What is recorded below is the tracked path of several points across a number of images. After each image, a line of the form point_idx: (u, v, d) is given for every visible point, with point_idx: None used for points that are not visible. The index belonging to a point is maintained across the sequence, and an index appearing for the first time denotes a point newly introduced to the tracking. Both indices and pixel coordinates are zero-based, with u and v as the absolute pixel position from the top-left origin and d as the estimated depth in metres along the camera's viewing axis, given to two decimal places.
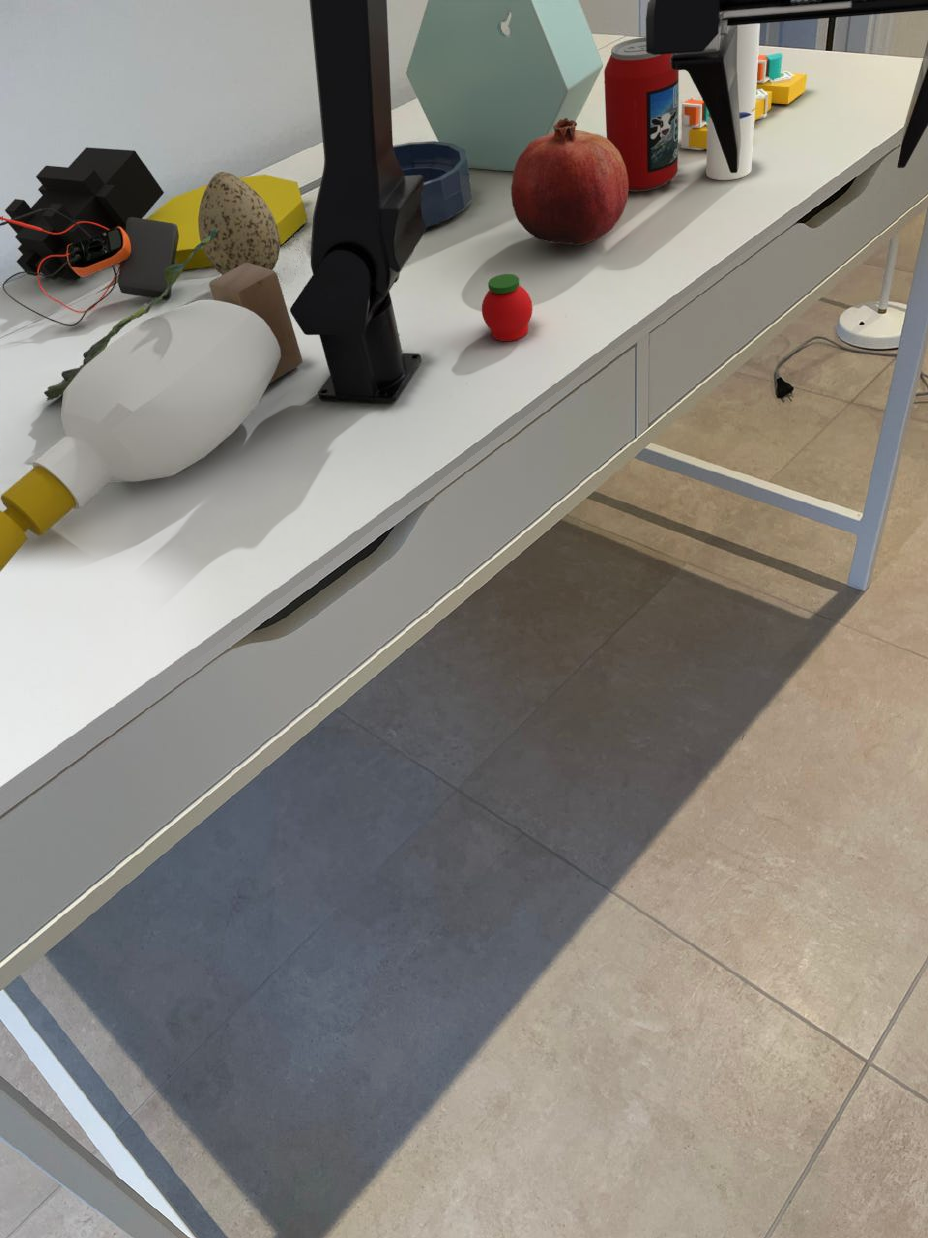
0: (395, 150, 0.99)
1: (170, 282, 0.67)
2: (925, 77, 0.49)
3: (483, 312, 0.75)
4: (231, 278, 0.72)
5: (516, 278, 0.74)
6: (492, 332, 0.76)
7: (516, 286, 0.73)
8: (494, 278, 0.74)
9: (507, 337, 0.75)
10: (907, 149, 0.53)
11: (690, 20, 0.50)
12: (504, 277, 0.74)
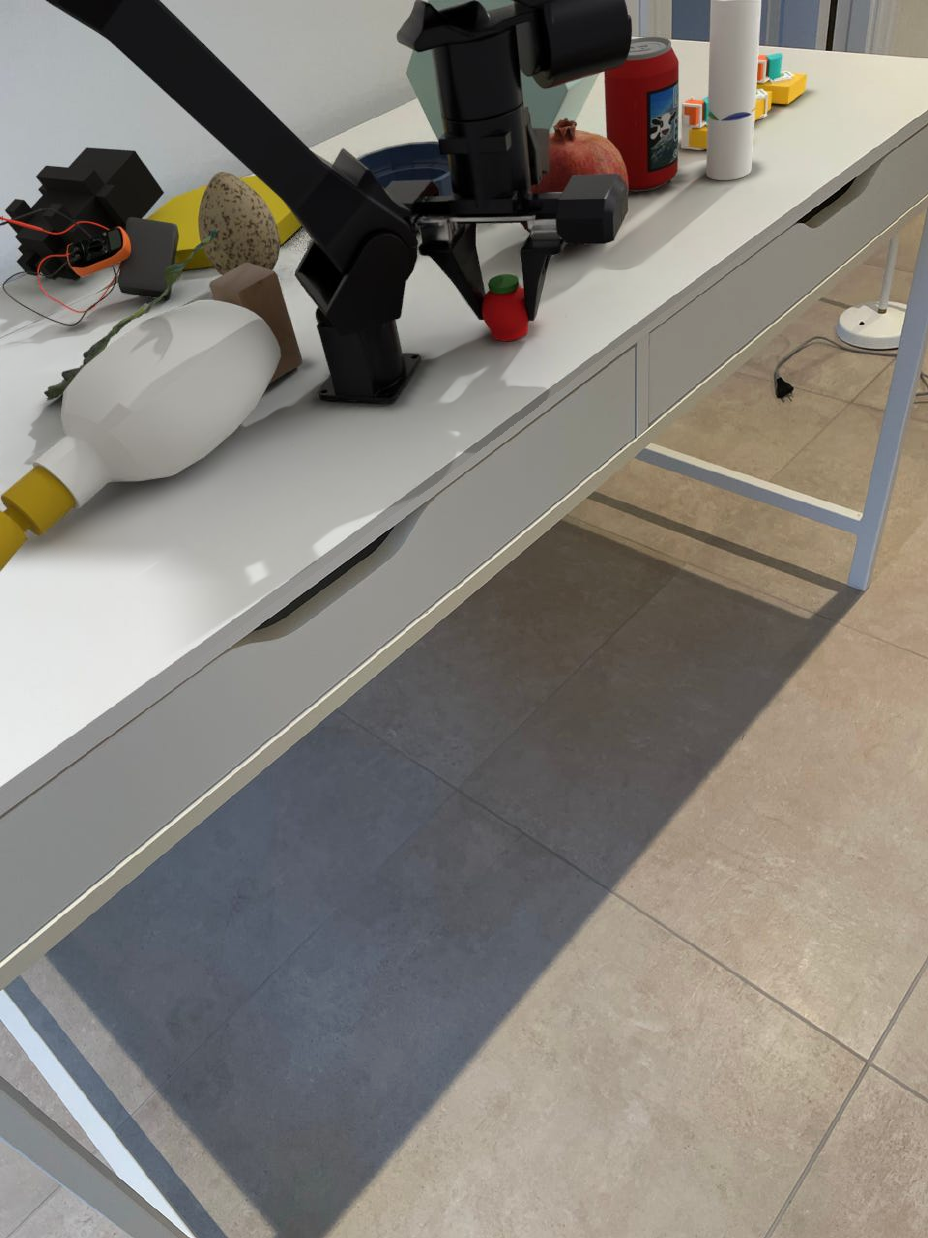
0: (395, 150, 0.99)
1: (170, 282, 0.67)
2: (522, 268, 0.70)
3: (483, 312, 0.75)
4: (231, 278, 0.72)
5: (516, 278, 0.74)
6: (492, 332, 0.76)
7: (516, 286, 0.73)
8: (494, 278, 0.74)
9: (507, 337, 0.75)
10: (530, 310, 0.74)
11: None
12: (504, 277, 0.74)
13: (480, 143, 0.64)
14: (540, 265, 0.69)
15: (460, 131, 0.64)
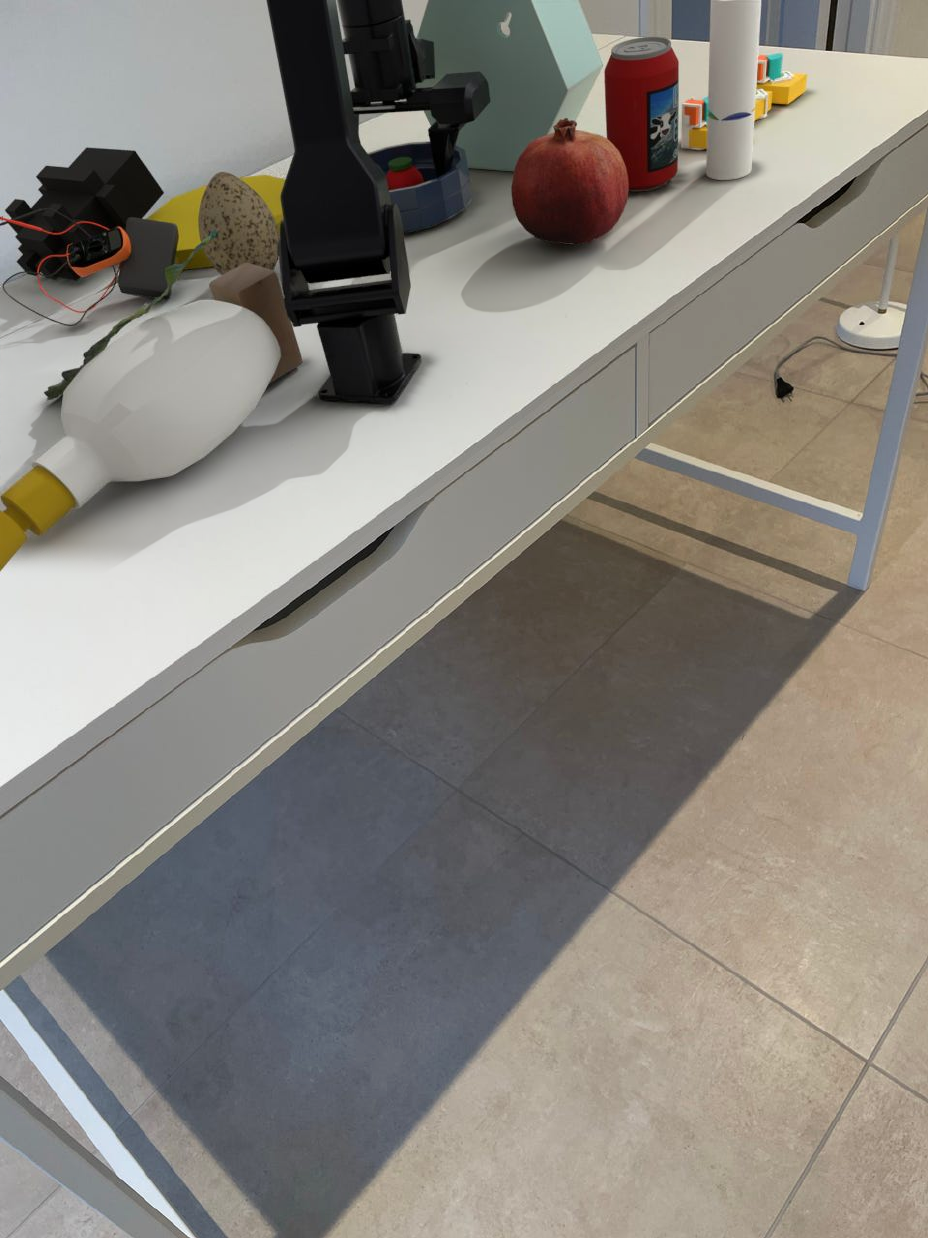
0: (395, 150, 0.99)
1: (170, 282, 0.67)
2: (431, 146, 0.90)
3: None
4: (231, 278, 0.72)
5: (409, 159, 0.95)
6: None
7: (409, 165, 0.94)
8: (393, 160, 0.95)
9: None
10: None
11: None
12: (401, 159, 0.95)
13: (370, 44, 0.85)
14: (444, 142, 0.89)
15: (355, 35, 0.85)
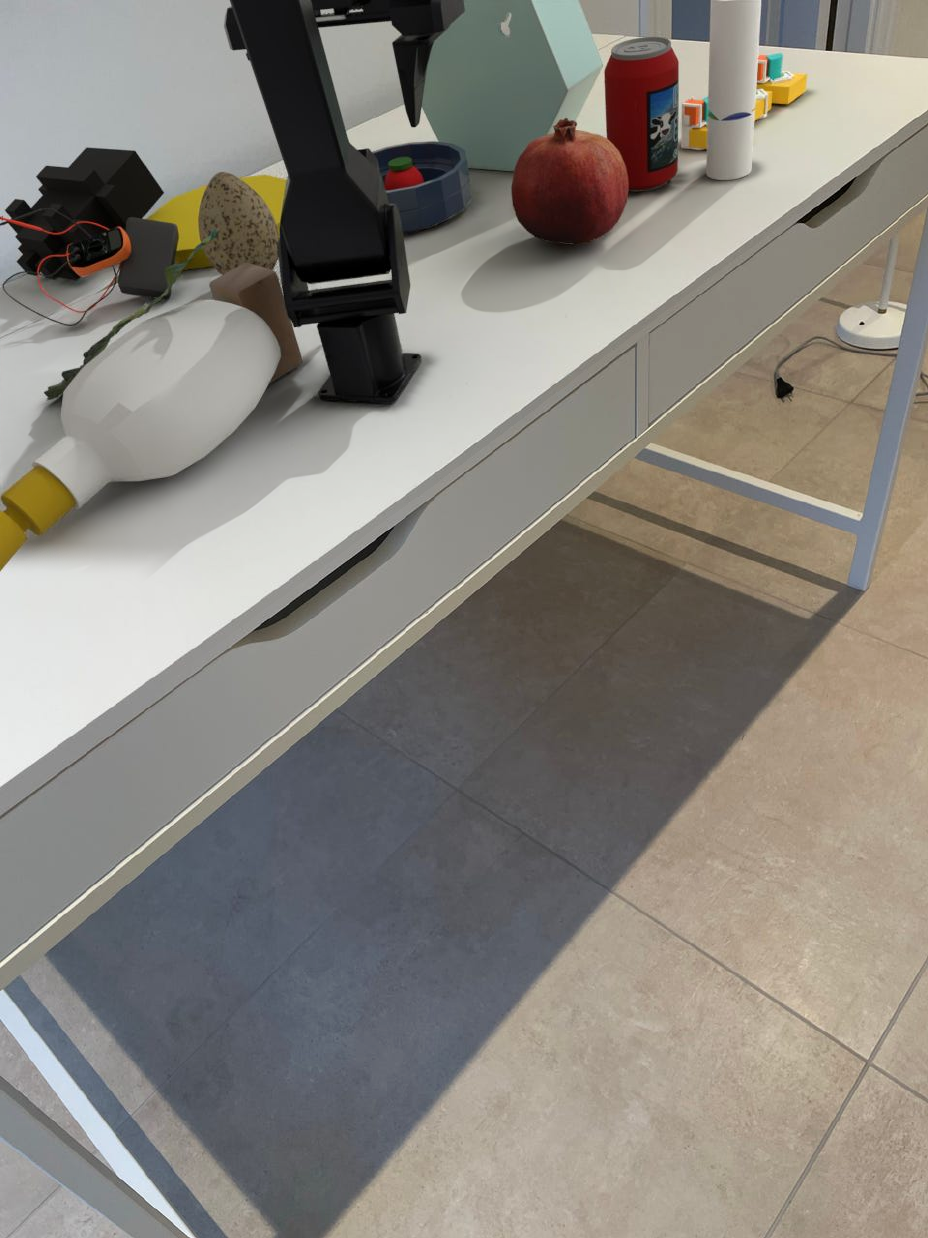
0: (395, 150, 0.99)
1: (170, 282, 0.67)
2: (396, 64, 0.74)
3: (385, 187, 0.96)
4: (231, 278, 0.72)
5: (409, 159, 0.95)
6: None
7: (409, 165, 0.94)
8: (393, 160, 0.95)
9: None
10: (410, 114, 0.78)
11: None
12: (401, 159, 0.95)
13: None
14: (412, 59, 0.73)
15: None
